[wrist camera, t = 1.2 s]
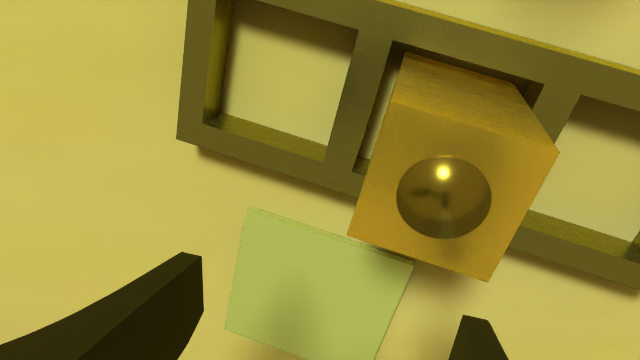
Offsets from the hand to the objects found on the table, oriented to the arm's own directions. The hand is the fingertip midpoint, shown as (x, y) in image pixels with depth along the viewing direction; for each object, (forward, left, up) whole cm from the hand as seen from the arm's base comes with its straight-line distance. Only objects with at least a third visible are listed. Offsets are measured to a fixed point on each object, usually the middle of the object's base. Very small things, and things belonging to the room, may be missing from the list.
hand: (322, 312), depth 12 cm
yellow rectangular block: (-2, -3, -10) cm, 11 cm away
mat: (+1, +9, -10) cm, 13 cm away
